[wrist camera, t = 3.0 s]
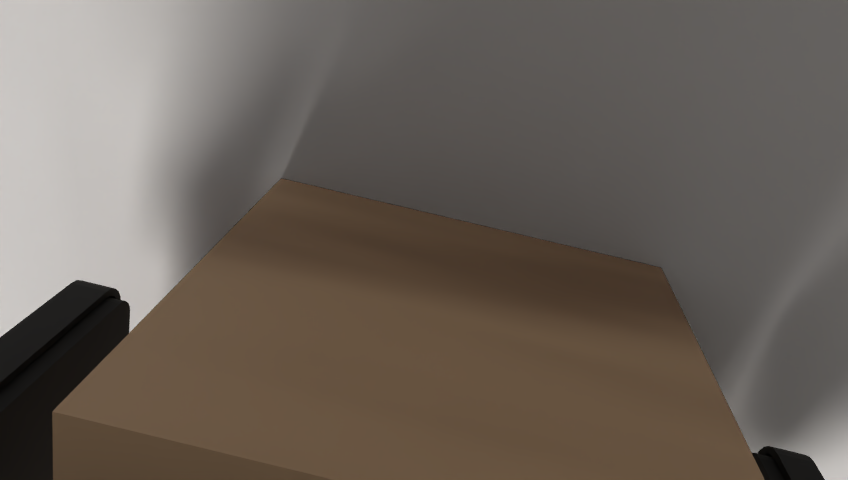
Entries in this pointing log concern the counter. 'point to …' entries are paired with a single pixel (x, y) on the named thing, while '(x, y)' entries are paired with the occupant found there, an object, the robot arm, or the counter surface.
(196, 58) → the counter surface
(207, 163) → the counter surface
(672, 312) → the walnut cube
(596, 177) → the counter surface
